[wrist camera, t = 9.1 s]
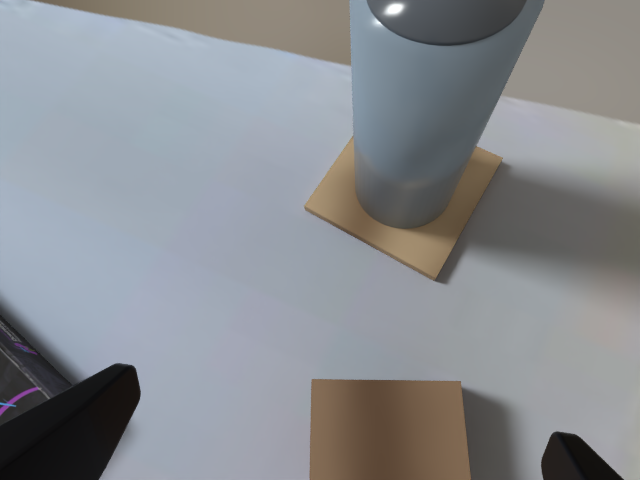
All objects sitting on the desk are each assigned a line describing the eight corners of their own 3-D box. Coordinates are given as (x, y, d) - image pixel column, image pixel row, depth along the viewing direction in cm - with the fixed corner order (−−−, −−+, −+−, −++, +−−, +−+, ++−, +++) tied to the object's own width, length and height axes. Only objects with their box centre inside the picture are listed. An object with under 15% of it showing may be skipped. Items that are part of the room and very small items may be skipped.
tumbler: (473, 183, 24) (590, -28, 12) (405, 248, 23) (455, 89, 11) (401, 127, 26) (437, -106, 14) (335, 184, 25) (310, -12, 13)
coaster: (499, 163, 25) (503, 157, 25) (433, 280, 23) (435, 278, 22) (375, 108, 27) (376, 102, 27) (305, 209, 25) (304, 205, 25)
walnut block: (447, 382, 21) (460, 381, 18) (457, 490, 19) (473, 506, 17) (318, 380, 22) (311, 379, 19) (316, 484, 20) (309, 500, 17)
